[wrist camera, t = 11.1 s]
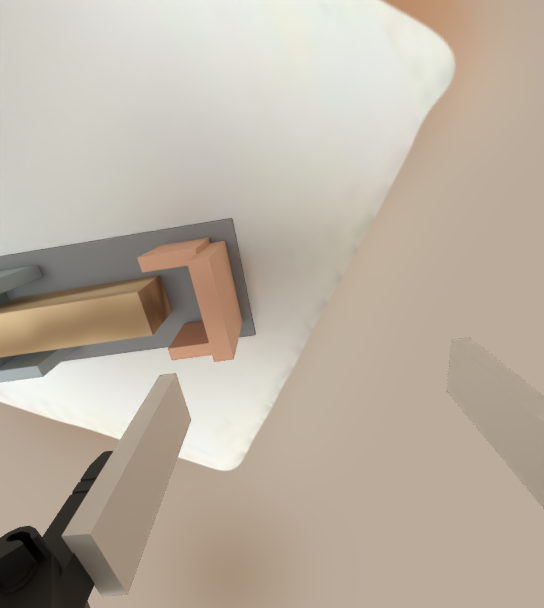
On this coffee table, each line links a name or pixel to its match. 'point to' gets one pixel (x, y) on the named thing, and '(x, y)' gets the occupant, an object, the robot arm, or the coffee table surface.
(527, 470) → the robot arm
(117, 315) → the tan wooden block
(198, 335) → the endcap
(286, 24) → the coffee table surface
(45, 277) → the seat
